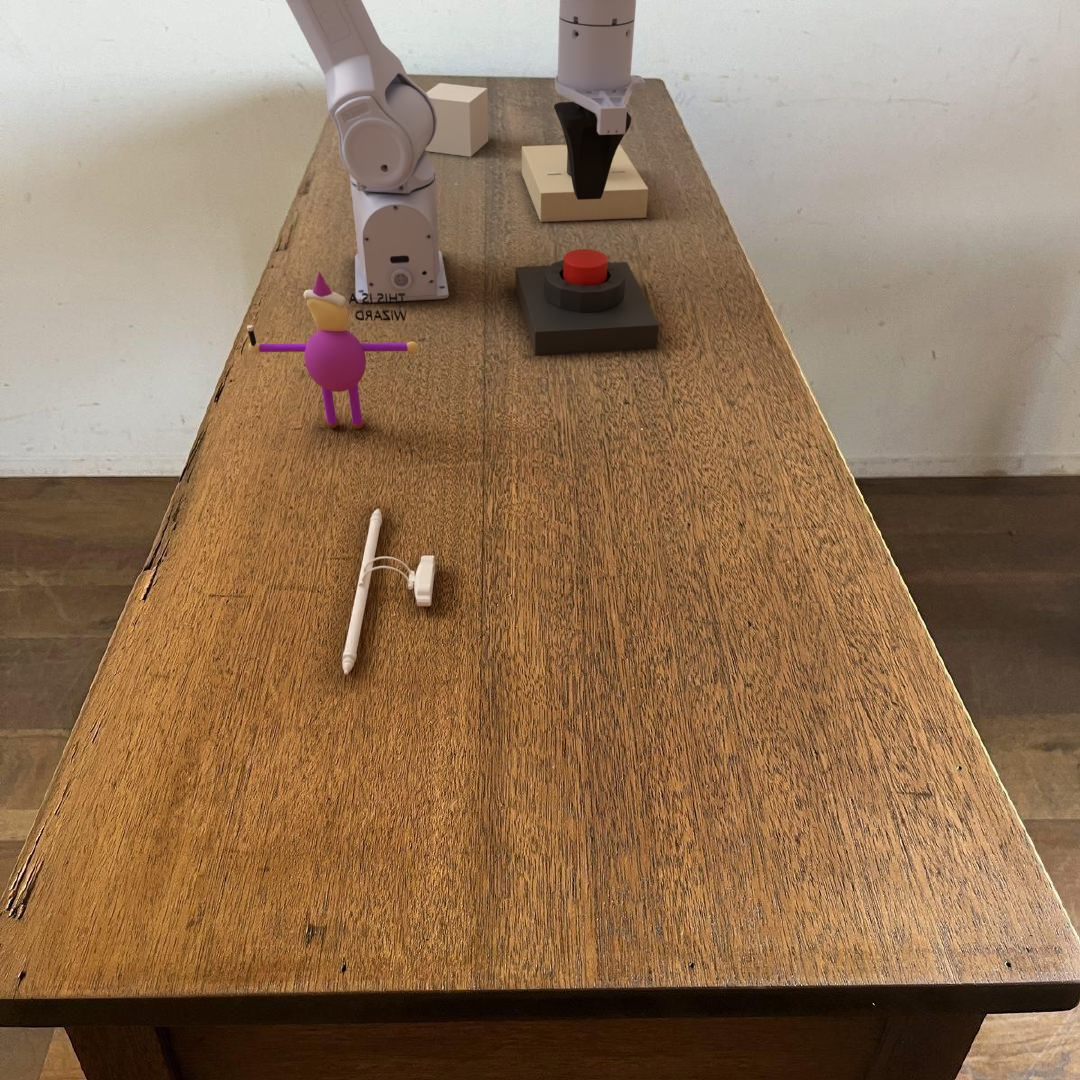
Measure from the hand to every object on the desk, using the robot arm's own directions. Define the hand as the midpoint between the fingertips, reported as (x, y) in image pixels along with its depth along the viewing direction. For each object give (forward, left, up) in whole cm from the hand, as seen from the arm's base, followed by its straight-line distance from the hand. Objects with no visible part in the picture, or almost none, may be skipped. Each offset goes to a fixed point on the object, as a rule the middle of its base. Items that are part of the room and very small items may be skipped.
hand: (587, 196), depth 83 cm
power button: (-6, +1, -5) cm, 8 cm away
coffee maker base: (-6, +1, -8) cm, 10 cm away
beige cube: (+39, +8, -8) cm, 41 cm away
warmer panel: (+22, -4, -8) cm, 24 cm away
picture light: (-38, +18, -8) cm, 43 cm away
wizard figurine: (-21, +21, -8) cm, 31 cm away
